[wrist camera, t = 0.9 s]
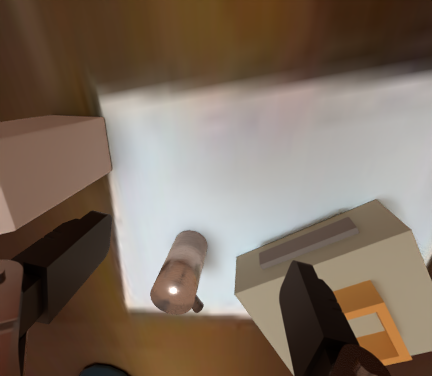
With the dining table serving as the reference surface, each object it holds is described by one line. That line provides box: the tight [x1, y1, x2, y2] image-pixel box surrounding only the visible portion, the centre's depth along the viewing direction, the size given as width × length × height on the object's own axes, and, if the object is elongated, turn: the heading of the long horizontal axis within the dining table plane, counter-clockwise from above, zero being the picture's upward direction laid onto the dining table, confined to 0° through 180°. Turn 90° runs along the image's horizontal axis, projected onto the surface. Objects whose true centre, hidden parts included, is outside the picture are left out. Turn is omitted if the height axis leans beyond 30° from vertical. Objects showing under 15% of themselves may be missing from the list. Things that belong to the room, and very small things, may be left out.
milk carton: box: [0, 115, 112, 234], centre depth 23 cm, size 7×7×19 cm
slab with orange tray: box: [234, 200, 432, 375], centre depth 31 cm, size 20×19×10 cm
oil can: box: [150, 230, 208, 314], centre depth 32 cm, size 7×5×10 cm
